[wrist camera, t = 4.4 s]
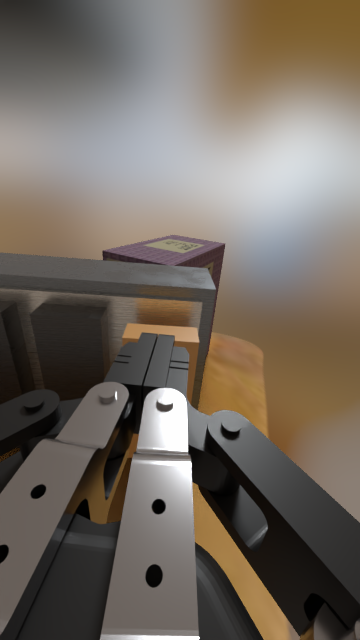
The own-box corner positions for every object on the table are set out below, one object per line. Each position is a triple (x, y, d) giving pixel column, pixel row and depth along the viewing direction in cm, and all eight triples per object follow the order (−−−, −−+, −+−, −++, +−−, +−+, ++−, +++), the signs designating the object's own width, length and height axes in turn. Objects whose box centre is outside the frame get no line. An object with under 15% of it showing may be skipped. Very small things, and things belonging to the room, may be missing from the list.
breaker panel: (-24, 468, 26) (-108, 278, 17) (20, 405, 34) (-22, 251, 25) (192, 475, 27) (220, 301, 18) (188, 413, 35) (207, 268, 26)
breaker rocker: (125, 457, 22) (122, 337, 17) (130, 430, 25) (129, 318, 19) (183, 459, 22) (199, 342, 17) (182, 432, 25) (196, 322, 19)
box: (162, 412, 35) (173, 266, 26) (110, 387, 38) (102, 250, 29) (208, 353, 48) (225, 243, 39) (166, 338, 52) (173, 234, 42)
